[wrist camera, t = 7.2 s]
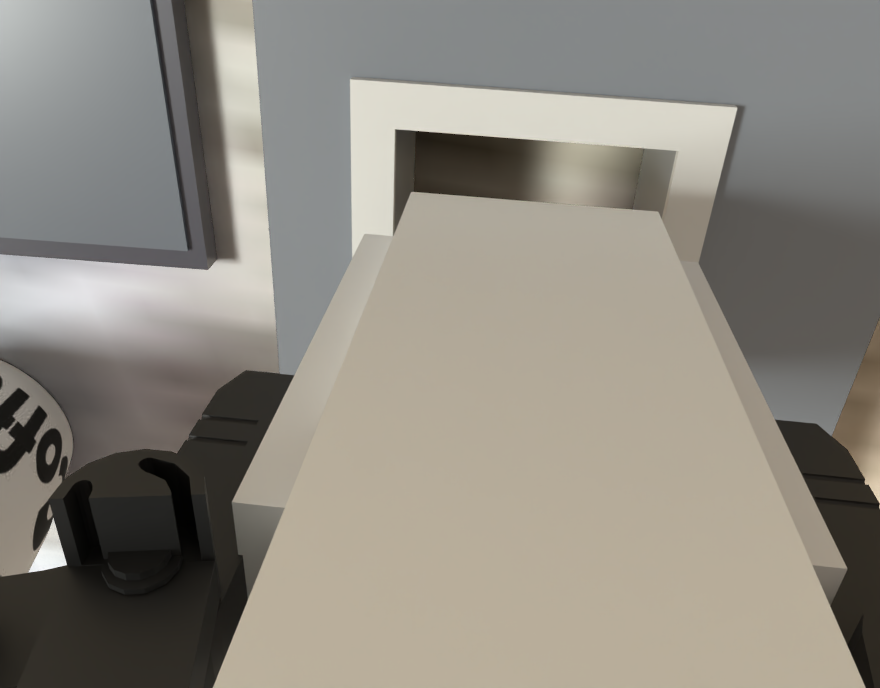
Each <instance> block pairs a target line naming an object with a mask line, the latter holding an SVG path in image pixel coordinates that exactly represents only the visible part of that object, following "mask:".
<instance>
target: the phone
mask: <svg viewBox="0 0 880 688" xmlns="http://www.w3.org/2000/svg"><path fill="white" fill-rule="evenodd" d="M0 254H5V255H19V256H32V257H45V258H59V259H72V260H85V261H99V262H112V263H125V264H139V265H152V266H165V267H178V268H192V269H205V270H208V269H209V268H210V267H211V266H212V265H213V263H214V262H215V261H216V260H217V254H216V246H215V239H214V231H213V223H212V215H211V208H210V200H209V192H208V184H207V176H206V169H205V161H204V153H203V145H202V138H201V130H200V122H199V114H198V106H197V99H196V91H195V83H194V75H193V67H192V60H191V52H190V44H189V36H188V29H187V21H186V13H185V5H184V0H0Z"/></svg>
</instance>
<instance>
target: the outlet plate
mask: <svg viewBox="0 0 880 688" xmlns="http://www.w3.org/2000/svg"><path fill="white" fill-rule="evenodd" d="M252 2H253V15H254V29H255V43H256V56H257V70H258V84H259V97H260V111H261V125H262V138H263V152H264V166H265V179H266V193H267V207H268V221H269V234H270V248H271V262H272V275H273V289H274V303H275V316H276V330H277V344H278V357H279V371H280V374H287V375H295V373H296V371H297V369H298V367H299V365H300V363H301V361H302V359H303V357H304V355H305V353H306V351H307V349H308V347H309V345H310V343H311V341H312V339H313V337H314V335H315V333H316V331H317V329H318V327H319V325H320V323H321V321H322V319H323V317H324V314H325V312H326V310H327V308H328V306H329V304H330V302H331V300H332V298H333V296H334V294H335V292H336V290H337V288H338V286H339V284H340V282H341V280H342V278H343V276H344V274H345V272H346V270H347V268H348V266H349V264H350V262H351V260H352V258H353V256H354V254H355V252H356V250H357V248H358V246H359V244H360V242H361V240H362V238H363V236H364V234H374V235H385V236H394V234H395V231H396V229H397V226H398V224H399V221H400V219H401V216H402V214H403V211H404V209H405V206H406V204H407V201H408V199H409V196H410V194H411V192H414V172H415V142H416V131H425V132H438V133H451V134H464V135H477V136H490V137H503V138H516V139H529V140H542V141H555V142H568V143H581V144H594V145H607V146H620V147H633V148H644V152H643V157H642V163H641V168H640V173H639V178H638V183H637V189H636V194H635V199H634V204H633V209H632V210H644V211H657V212H659V214H660V217H661V219H662V221H663V224H664V226H665V228H666V230H667V233H668V235H669V237H670V240H671V242H672V244H673V247H674V249H675V251H676V253H677V256H678V258H679V260H680V261H688V262H698V263H699V265H700V267H701V269H702V272H703V274H704V276H705V278H706V280H707V282H708V284H709V286H710V288H711V290H712V292H713V294H714V296H715V298H716V300H717V302H718V304H719V306H720V308H721V310H722V313H723V315H724V317H725V319H726V321H727V323H728V325H729V327H730V329H731V331H732V333H733V335H734V337H735V339H736V341H737V343H738V345H739V347H740V349H741V351H742V354H743V356H744V358H745V360H746V362H747V364H748V366H749V368H750V370H751V372H752V374H753V376H754V378H755V380H756V382H757V384H758V386H759V388H760V390H761V392H762V394H763V397H764V399H765V401H766V403H767V405H768V407H769V409H770V411H771V413H772V415H773V417H774V419H775V420H784V421H794V422H805V423H815V424H818V425H819V426H820V427H821V428H822V429H824V430H825V431H826V432H827V433H828V434H829V435H831V436H832V434H833V431H834V429H835V427H836V424H837V422H838V419H839V417H840V414H841V412H842V409H843V407H844V404H845V402H846V399H847V397H848V395H849V392H850V390H851V387H852V385H853V382H854V380H855V377H856V375H857V372H858V370H859V367H860V365H861V362H862V360H863V358H864V355H865V353H866V350H867V348H868V345H869V343H870V340H871V338H872V335H873V333H874V330H875V328H876V326H877V323H878V321H879V318H880V0H252Z"/></svg>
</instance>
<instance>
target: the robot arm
mask: <svg viewBox="0 0 880 688" xmlns="http://www.w3.org/2000/svg"><path fill="white" fill-rule="evenodd" d="M392 239H393V236H385V235H374V234H364V236H363V238H362V240H361V242H360V244H359V246H358V248H357V250H356V252H355V254H354V256H353V258H352V260H351V262H350V264H349V266H348V268H347V270H346V272H345V274H344V276H343V278H342V280H341V282H340V284H339V286H338V288H337V290H336V292H335V294H334V296H333V298H332V300H331V302H330V304H329V306H328V308H327V310H326V312H325V314H324V317H323V319H322V321H321V323H320V325H319V327H318V329H317V331H316V333H315V335H314V337H313V339H312V341H311V343H310V345H309V347H308V349H307V351H306V353H305V355H304V357H303V359H302V361H301V363H300V365H299V367H298V369H297V371H296V373H295V375H287V374H277V373H267V372H256V371H244V372H243V373H242V374H240V375H239V376H237V377H236V378H234V379H233V380H231V381H230V382H229V383H227V384H226V385H224V386H223V387H221V388H220V389H219V390H217V392H216V394H215V395H214V397H213V398H212V400H211V401H210V403H209V405H208V406H207V408H206V409H205V411H204V412H203V414H202V419H201V420H200V419H199V420H198V422H197V423H196V425H195V426H194V428H193V430H192V431H191V433H190V434H189V440H188V441H187V440H186V441H185V442H184V444H183V445H182V447H181V448H180V450H179V452H178V453H177V454H176V453H174V452H170V451H160V450H150V449H142V450H135V451H128V452H121V453H115V454H113V455H110V456H107V457H104V458H102V459H99V460H96V461H94V462H91V463H88V464H87V465H85V466H84V467H82V468H81V469H79V470H78V471H76V472H75V473H73V474H72V475H70V476H69V477H67V478H66V479H64V480H63V481H62V483H61V484H60V485H59V486H58V488H57V489H56V490H55V491H54V493H53V494H52V495H51V496H50V498H49V499H48V500H49V504H50V507H51V511H52V514H53V518H54V521H55V524H56V528H57V531H58V535H59V538H60V542H61V545H62V548H63V552H64V555H65V559H66V562H67V565H66V566H62V567H57V568H53V569H48V570H44V571H37V572H30V573H23V574H17V575H10V576H3V577H0V688H213V686H214V683H215V681H216V678H217V676H218V673H219V671H220V668H221V666H222V663H223V661H224V658H225V656H226V654H227V651H228V648H229V646H230V643H231V641H232V639H233V636H234V633H235V631H236V628H237V626H238V623H239V621H240V618H241V616H242V613H243V611H244V608H245V606H246V604H247V601H248V598H249V596H250V593H251V591H252V589H253V586H254V583H255V581H256V578H257V576H258V574H259V571H260V568H261V566H262V563H263V561H264V559H265V556H266V553H267V551H268V548H269V546H270V544H271V541H272V539H273V536H274V533H275V531H276V529H277V526H278V524H279V521H280V518H281V516H282V514H283V511H284V509H285V506H286V503H287V501H288V499H289V496H290V494H291V491H292V489H293V486H294V484H295V481H296V479H297V476H298V474H299V471H300V469H301V466H302V464H303V461H304V459H305V456H306V454H307V451H308V449H309V446H310V444H311V441H312V439H313V436H314V434H315V431H316V429H317V426H318V424H319V421H320V419H321V416H322V414H323V411H324V409H325V406H326V404H327V401H328V399H329V396H330V394H331V391H332V389H333V386H334V384H335V381H336V379H337V376H338V374H339V371H340V369H341V366H342V364H343V361H344V359H345V356H346V354H347V351H348V349H349V346H350V344H351V341H352V339H353V336H354V334H355V331H356V329H357V326H358V324H359V321H360V319H361V316H362V314H363V311H364V309H365V306H366V304H367V301H368V299H369V296H370V294H371V291H372V289H373V286H374V284H375V281H376V279H377V276H378V274H379V271H380V269H381V266H382V264H383V261H384V259H385V256H386V254H387V251H388V249H389V246H390V244H391V241H392ZM680 263H681V265H682V267H683V269H684V272H685V274H686V276H687V279H688V281H689V283H690V286H691V288H692V290H693V292H694V295H695V297H696V299H697V302H698V304H699V306H700V309H701V311H702V313H703V315H704V318H705V320H706V322H707V325H708V327H709V329H710V331H711V334H712V336H713V338H714V341H715V343H716V345H717V348H718V350H719V352H720V354H721V357H722V359H723V361H724V364H725V366H726V368H727V371H728V373H729V375H730V377H731V380H732V382H733V384H734V387H735V389H736V391H737V393H738V396H739V398H740V400H741V403H742V405H743V407H744V410H745V412H746V414H747V416H748V419H749V421H750V423H751V426H752V428H753V430H754V432H755V435H756V437H757V439H758V442H759V444H760V446H761V449H762V451H763V453H764V455H765V458H766V460H767V462H768V465H769V467H770V469H771V472H772V474H773V476H774V478H775V481H776V483H777V485H778V488H779V490H780V492H781V494H782V497H783V499H784V501H785V504H786V506H787V508H788V511H789V513H790V515H791V517H792V520H793V522H794V524H795V527H796V529H797V531H798V534H799V536H800V538H801V540H802V543H803V545H804V547H805V550H806V552H807V554H808V556H809V559H810V561H811V563H812V566H813V568H814V570H815V573H816V575H817V577H818V579H819V582H820V584H821V586H822V589H823V591H824V593H825V595H826V598H827V600H828V602H829V605H830V607H831V609H832V612H833V614H834V616H835V618H836V621H837V623H838V625H839V628H840V630H841V632H842V635H843V637H844V639H845V641H846V644H847V646H848V648H849V651H850V653H851V655H852V657H853V660H854V662H855V664H856V667H857V669H858V671H859V674H860V676H861V678H862V680H863V683H864V685H865V687H866V688H880V509H879V504H880V503H879V502H878V500H877V498H876V497H875V495H874V493H873V492H872V490H871V488H870V487H869V485H865V478H864V477H863V475H862V473H861V472H860V470H859V468H858V467H857V465H856V463H855V461H854V460H853V458H852V456H851V455H850V453H849V451H848V450H847V449H846V448H845V447H844V446H842V445H841V444H840V443H839V442H838V441H836V440H835V439H834V438H833V437H832V436H831V435H829V434H828V433H827V432H826V431H825V430H824V429H822V428H821V427H820V426H819V425H818V424H815V423H805V422H794V421H784V420H775V419H774V417H773V415H772V413H771V411H770V409H769V407H768V405H767V403H766V401H765V399H764V397H763V394H762V392H761V390H760V388H759V386H758V384H757V382H756V380H755V378H754V376H753V374H752V372H751V370H750V368H749V366H748V364H747V362H746V360H745V358H744V356H743V354H742V351H741V349H740V347H739V345H738V343H737V341H736V339H735V337H734V335H733V333H732V331H731V329H730V327H729V325H728V323H727V321H726V319H725V317H724V315H723V313H722V310H721V308H720V306H719V304H718V302H717V300H716V298H715V296H714V294H713V292H712V290H711V288H710V286H709V284H708V282H707V280H706V278H705V276H704V274H703V272H702V269H701V267H700V265H699V263H698V262H688V261H680Z"/></svg>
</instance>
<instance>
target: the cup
mask: <svg viewBox="0 0 880 688" xmlns="http://www.w3.org/2000/svg"><path fill="white" fill-rule="evenodd" d="M72 453H73V437H72V432H71V429H70V426H69V423H68V421H67V419H66V417H65V415H64V413H63V411H62V410H61V408H60V407H59V405H58V404H57V402H56V401H55V400H54V399H53V397H52V396H51V395H50V394H49V393H48V392H47V391H46V390H45V389H44V388H43V387H42V386H41V385H40V384H39V383H37V382H36V381H35V380H34V379H32V378H31V377H30V376H28V375H27V374H25V373H24V372H22V371H21V370H19V369H17V368H16V367H14V366H12V365H10V364H8V363H6V362H4V361H2V360H0V577H3V576H10V575H17V574H23V573H28V572H29V570H30V568H31V566H32V564H33V562H34V560H35V558H36V556H37V554H38V552H39V550H40V548H41V546H42V544H43V542H44V540H45V538H46V536H47V534H48V531H49V529H50V526H51V523H52V519H53V514H52V511H51V507H50V504H49V500H48V499H49V498H50V496H51V495H52V494H53V493H54V491H55V490H56V489H57V488H58V486H59V485H60V484H61V483H62V481H63V480H64V479H65V477H66V474H67V471H68V467H69V464H70V461H71V458H72Z"/></svg>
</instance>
